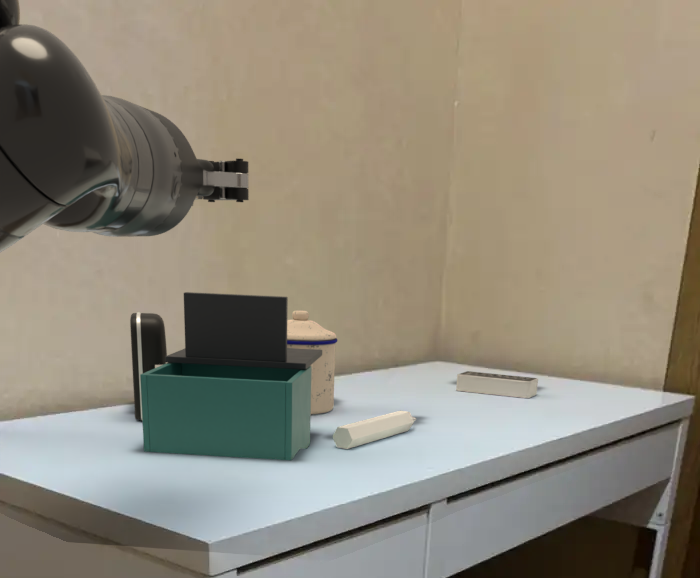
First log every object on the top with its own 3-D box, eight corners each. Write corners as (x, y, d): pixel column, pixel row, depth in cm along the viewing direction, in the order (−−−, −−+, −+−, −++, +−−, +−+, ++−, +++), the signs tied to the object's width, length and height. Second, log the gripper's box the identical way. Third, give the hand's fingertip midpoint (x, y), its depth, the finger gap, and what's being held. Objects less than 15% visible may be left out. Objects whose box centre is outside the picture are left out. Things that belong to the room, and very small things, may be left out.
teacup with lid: (259, 402, 120) (259, 307, 116) (329, 402, 122) (331, 308, 117) (268, 420, 109) (268, 315, 105) (345, 420, 111) (348, 317, 106)
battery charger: (169, 422, 106) (165, 316, 101) (135, 422, 105) (129, 315, 101) (168, 411, 112) (165, 311, 108) (136, 411, 111) (131, 310, 107)
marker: (416, 432, 109) (344, 453, 96) (403, 421, 110) (329, 441, 97) (428, 414, 108) (355, 433, 95) (414, 403, 108) (341, 420, 95)
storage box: (144, 461, 88) (140, 374, 85) (179, 436, 99) (176, 358, 96) (291, 470, 87) (292, 382, 84) (310, 444, 98) (311, 365, 95)
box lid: (165, 362, 92) (162, 291, 90) (196, 349, 103) (195, 285, 101) (305, 369, 91) (307, 298, 88) (322, 355, 102) (323, 291, 99)
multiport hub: (528, 398, 131) (530, 381, 130) (455, 390, 136) (456, 374, 135) (537, 394, 135) (539, 378, 134) (465, 386, 139) (466, 370, 138)
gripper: (225, 103, 55) (278, 132, 71) (9, 96, 56) (108, 126, 72) (227, 241, 58) (277, 239, 74) (21, 232, 59) (114, 232, 75)
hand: (193, 183), depth 73 cm, fingers closed
